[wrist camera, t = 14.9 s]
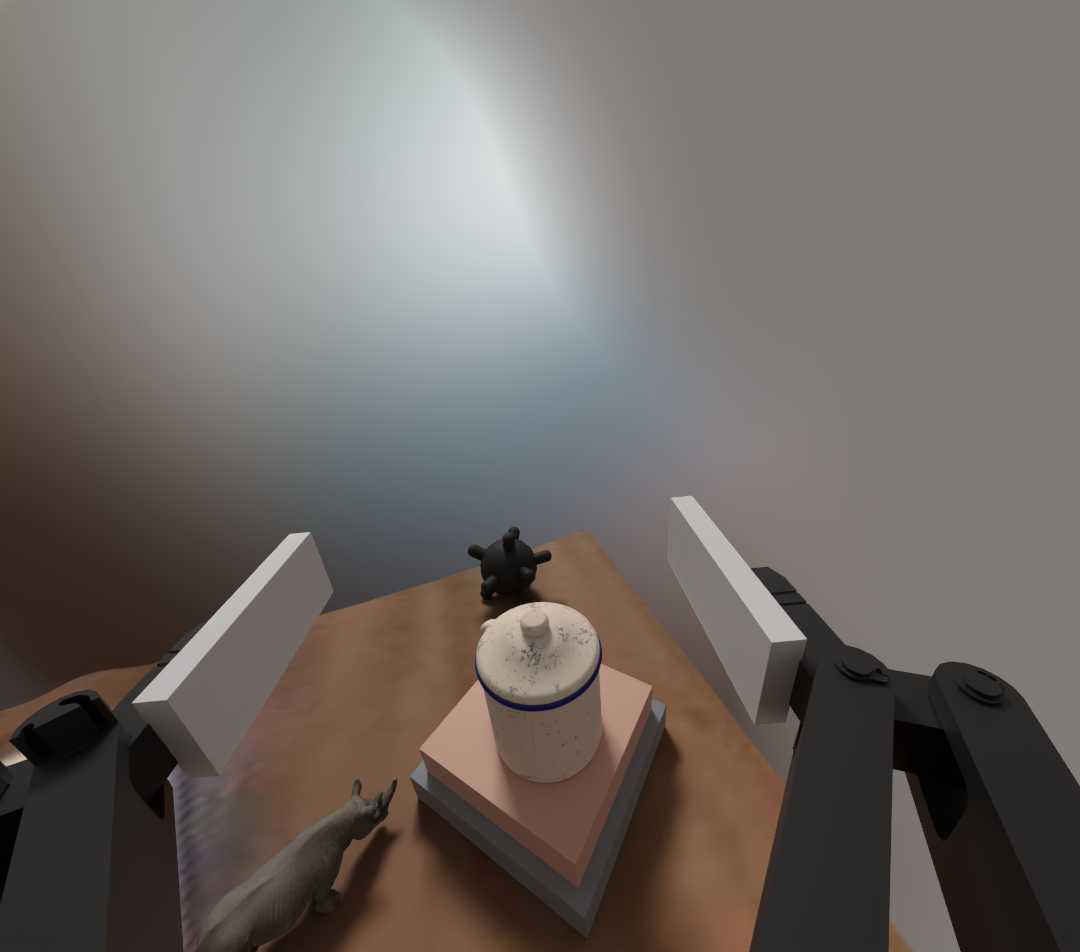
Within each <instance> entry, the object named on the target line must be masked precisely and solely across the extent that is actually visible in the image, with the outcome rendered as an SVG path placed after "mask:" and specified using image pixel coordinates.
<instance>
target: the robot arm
mask: <svg viewBox="0 0 1080 952" xmlns="http://www.w3.org/2000/svg"><path fill="white" fill-rule="evenodd" d="M667 558H668V559H667V560H668V562H669V564H670V566H671V568H672V569H673V571H674V573H675V575H676V577H677V579H678V581H679V583H680V585H681V587H682V588H683V590H684V592H685V594H686V596H687V598H688V600H689V602H690V604H691V606H692V607H693V609H694V611H695V613H696V615H697V617H698V619H699V621H700V622H701V624H702V626H703V628H704V630H705V632H706V634H707V636H708V638H709V640H710V642H711V643H712V645H713V647H714V649H715V651H716V653H717V655H718V657H719V659H720V660H721V662H722V664H723V666H724V668H725V670H726V672H727V674H728V676H729V678H730V679H731V681H732V683H733V685H734V687H735V689H736V691H737V693H738V695H739V697H740V698H741V700H742V702H743V704H744V706H745V708H746V710H747V712H748V714H749V716H750V717H751V719H752V721H753V723H754V725H759V724H769V723H779V722H786V719H787V715H788V711H789V707H790V706H791V708H792V709H793V711H794V713H795V714H796V716H797V717H798V719H799V720H800V725H799V729H798V732H797V736H796V740H795V743H794V747H793V750H794V751H793V756H792V760H791V765H790V769H789V774H788V779H787V783H786V787H785V792H784V796H783V801H782V806H781V810H780V815H779V819H778V824H777V828H776V833H775V837H774V842H773V846H772V851H771V855H770V860H769V864H768V869H767V874H766V878H765V883H764V887H763V892H762V896H761V901H760V905H759V910H758V914H757V919H756V923H755V928H754V932H753V937H752V941H751V946H750V951H749V952H888V949H889V905H890V904H889V903H890V902H889V901H890V859H891V857H890V856H891V816H892V771H893V769H896V770H900V771H904V772H905V773H906V777H907V780H908V783H909V786H910V790H911V793H912V796H913V799H914V802H915V806H916V809H917V812H918V816H919V819H920V822H921V825H922V828H923V831H924V835H925V838H926V841H927V844H928V848H929V851H930V854H931V857H932V860H933V864H934V867H935V870H936V873H937V877H938V880H939V883H940V886H941V890H942V893H943V896H944V899H945V903H946V906H947V909H948V912H949V916H950V919H951V922H952V925H953V928H954V932H955V934H956V938H957V941H958V944H959V948H960V951H961V952H1080V786H1079V784H1078V783H1077V781H1076V779H1075V778H1074V776H1073V775H1072V773H1071V772H1070V770H1069V768H1068V767H1067V765H1066V764H1065V762H1064V761H1063V759H1062V757H1061V756H1060V754H1059V753H1058V751H1057V750H1056V748H1055V746H1054V745H1053V743H1052V742H1051V740H1050V739H1049V737H1048V735H1047V734H1046V732H1045V731H1044V729H1043V728H1042V726H1041V724H1040V723H1039V722H1038V720H1037V718H1036V717H1035V715H1034V714H1033V712H1032V711H1031V709H1030V707H1029V706H1028V704H1027V703H1026V701H1025V700H1024V698H1023V697H1022V696H1021V695H1020V694H1019V693H1018V692H1017V691H1016V689H1015V688H1014V687H1012V686H1011V685H1010V684H1008V683H1007V682H1005V681H1004V680H1002V679H1001V678H1000V677H998V676H996V675H994V674H992V673H990V672H988V671H986V670H984V669H982V668H979V667H976V666H973V665H969V664H966V663H959V662H947V663H942V664H940V665H939V666H938V667H937V668H936V670H935V672H934V674H933V676H932V677H930V676H925V675H918V674H913V673H907V672H901V671H895V670H891V669H887V667H886V666H885V665H884V664H883V663H882V662H881V661H879V660H878V659H877V658H875V657H874V656H872V655H871V654H869V653H867V652H865V651H863V650H860V649H858V648H855V647H851V646H846V645H845V644H844V643H843V642H842V641H841V640H840V639H839V638H838V636H837V635H836V634H835V633H834V632H833V631H832V630H831V629H830V628H829V626H828V625H827V624H826V623H825V622H824V621H823V620H822V618H821V617H820V616H819V615H818V614H817V613H816V612H815V611H814V610H813V608H812V607H811V606H810V605H809V604H806V601H805V600H804V598H803V597H802V596H801V595H800V594H799V593H797V592H796V589H794V587H793V586H792V585H791V584H790V583H789V582H788V581H787V580H786V578H785V577H783V576H781V575H780V574H778V573H777V572H775V571H773V570H772V569H770V568H768V567H761V568H749V566H748V565H747V564H746V563H745V562H744V560H743V559H742V558H741V556H740V555H739V554H738V553H737V551H736V550H735V549H734V548H733V546H732V545H731V544H730V543H729V542H728V540H727V539H726V538H725V536H724V535H723V534H722V533H721V531H720V530H719V529H718V528H717V526H716V525H715V524H714V523H713V522H712V520H711V519H710V518H709V517H708V515H707V514H706V513H705V512H704V510H703V509H702V508H701V507H700V505H699V504H698V503H697V502H696V500H695V499H694V498H693V497H692V496H684V497H675V498H671V504H670V521H669V541H668V557H667ZM332 593H333V589H332V587H331V584H330V581H329V579H328V576H327V574H326V571H325V568H324V566H323V563H322V561H321V558H320V555H319V553H318V550H317V548H316V545H315V542H314V540H313V537H312V535H311V532H307V533H297V534H289V535H288V537H287V538H286V539H285V540H284V541H283V542H282V543H281V544H280V545H279V546H278V547H277V548H276V549H275V550H274V551H273V553H272V554H271V555H270V556H269V557H268V558H267V559H266V560H265V561H264V562H263V563H262V564H261V565H260V566H259V567H258V569H257V570H256V571H255V572H254V573H253V574H252V575H251V576H250V577H249V578H248V579H247V580H246V581H245V582H244V584H243V585H242V586H241V587H240V588H239V589H238V590H237V591H236V592H235V593H234V594H233V595H232V596H231V598H229V600H228V601H227V602H226V603H225V604H224V605H223V606H222V607H221V608H220V609H219V610H218V611H217V612H216V613H215V615H214V616H213V617H212V618H211V619H210V620H209V621H205V622H203V623H201V624H200V625H199V626H197V627H196V628H194V629H193V630H192V631H190V632H189V633H188V634H186V635H185V636H183V638H182V639H181V640H180V641H179V642H178V643H177V644H176V645H175V646H174V647H173V648H172V649H171V650H170V652H169V654H166V655H165V656H164V657H163V658H162V659H161V660H160V661H159V662H158V663H157V667H154V668H153V669H152V670H151V671H150V672H149V673H148V674H147V675H146V676H145V677H144V678H143V679H142V680H141V681H140V682H139V683H138V684H137V685H136V686H135V687H134V688H133V689H132V690H131V691H130V692H129V693H128V695H127V696H126V697H125V698H124V699H123V700H122V701H121V702H120V703H119V704H118V705H117V706H116V707H115V708H114V709H113V710H111V709H110V707H109V706H108V705H107V704H106V702H105V701H104V700H103V699H102V698H101V696H100V695H99V694H98V693H97V691H92V690H84V691H78V692H74V693H72V694H69V695H67V696H64V697H61V698H59V699H57V700H56V701H54V702H52V703H50V704H48V705H46V706H45V707H43V708H42V709H40V710H39V711H37V712H36V713H35V714H33V715H32V716H30V717H29V718H28V719H27V720H25V721H24V722H23V723H22V724H21V725H20V726H19V727H18V728H17V729H16V730H15V732H14V733H13V735H12V737H11V738H10V740H9V741H10V742H11V743H12V744H13V745H14V746H15V747H16V748H17V749H18V750H19V751H20V752H21V753H22V754H23V755H24V756H25V757H26V758H27V760H24V761H21V762H18V763H16V764H13V765H10V766H7V767H6V766H5V765H4V764H3V763H2V762H1V761H0V952H183V937H182V922H181V907H180V891H179V876H178V861H177V846H176V831H175V815H174V800H173V788H172V786H171V784H170V782H169V781H168V780H167V778H168V776H169V775H170V773H171V772H172V771H173V769H174V768H175V767H176V765H177V764H178V765H179V766H180V767H181V769H182V770H183V771H184V773H185V774H186V775H187V777H188V778H198V777H208V776H219V775H221V773H222V771H223V770H224V768H225V767H226V765H227V763H228V762H229V760H230V758H231V757H232V755H233V754H234V752H235V750H236V749H237V747H238V745H239V744H240V742H241V741H242V739H243V737H244V736H245V734H246V732H247V731H248V729H249V728H250V726H251V724H252V723H253V721H254V720H255V718H256V716H257V715H258V713H259V711H260V710H261V708H262V707H263V705H264V703H265V702H266V700H267V698H268V697H269V695H270V694H271V692H272V690H273V689H274V687H275V685H276V684H277V682H278V681H279V679H280V677H281V676H282V674H283V673H284V671H285V669H286V668H287V666H288V664H289V663H290V661H291V660H292V658H293V656H294V655H295V653H296V651H297V650H298V648H299V647H300V645H301V643H302V642H303V640H304V638H305V637H306V635H307V634H308V632H309V630H310V629H311V627H312V626H313V624H314V622H315V621H316V619H317V617H318V616H319V614H320V613H321V611H322V609H323V608H324V606H325V604H326V603H327V601H328V600H329V598H330V596H331V594H332Z"/></svg>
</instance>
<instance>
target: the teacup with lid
mask: <svg viewBox="0 0 1080 952" xmlns="http://www.w3.org/2000/svg"><path fill="white" fill-rule="evenodd" d="M601 661H602V648H601V643H600V640H599V637H598V635H597V633H596V631H595V629H594V628H593V626H592V625H591V623H590V622H589V621H588V620H587V619H586V618H585V617H584V616H583V615H581V614H580V613H579V612H577V611H576V610H574V609H572V608H570V607H567V606H564V605H561V604H557V603H551V602H535V603H528V604H524V605H521V606H518V607H515V608H513V609H510V610H509V611H507V612H505V613H503V614H502V615H500V616H499V617H498V618H496V619H490V620H488V621H486V622H485V623H484V624H483V625H482V626H481V639H480V641H479V644H478V647H477V652H476V657H475V669H476V674H477V677H478V680H479V682H480V684H481V686H482V687H483V689H484V693H485V698H486V702H487V707H488V711H489V716H490V720H491V725H492V729H493V734H494V739H495V743H496V747H497V750H498V752H499V754H500V756H501V758H502V760H503V761H504V762H505V764H506V765H507V766H508V767H509V768H510V769H511V770H512V771H513V772H515V773H516V774H518V775H519V776H521V777H523V778H525V779H528V780H531V781H534V782H540V783H552V782H558V781H562V780H565V779H567V778H569V777H571V776H573V775H575V774H576V773H578V772H579V771H581V770H582V769H583V768H584V767H585V766H586V765H587V764H588V763H589V762H590V760H591V759H592V757H593V756H594V754H595V752H596V750H597V748H598V746H599V743H600V739H601V733H602V718H601V697H600V675H599V669H600V666H601Z"/></svg>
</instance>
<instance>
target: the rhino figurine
mask: <svg viewBox="0 0 1080 952" xmlns="http://www.w3.org/2000/svg"><path fill="white" fill-rule="evenodd" d="M396 785H397V779H396V778H395V779H394V780H393V782H392V785H391V786H390V788H389V789H388V790H387V791H386V792H385V793H384V794H383V792H382V791H381V792H380V793H379V794H378V795H377V796H376V797H374V798H373V799H363V798H362V797H361V796H360V791H361V787H362V786H361V783H360V780H359V779H356V780H355V782H354V785H353V790H352V797H351V799H350V801H349V802H348V803H347V804H345V805H343V806H342V807H341V808H340V809H338V810H336V811H335V812H333V813H331V814H330V815H328V816H326V817H324V818H323V819H321V820H319V821H318V822H315V823H314V824H312V825H311V826H309V827H307V828H306V829H305V830H304V831H302V832H301V833H300V834H299V835H298V836H297V837H296V838H295V839H294V841H293V842H292V843H290V844H289V845H288V846H287V847H286V848H285V849H283V850H282V851H280V852H279V853H278V854H277V855H275V856H274V857H272V858H271V859H270V860H269V861H268V862H267V863H265V864H264V865H263V866H262V867H261V868H260V869H259V870H258V871H256V872H255V873H254V874H253V875H252V876H251V877H250V878H249V879H248V880H247V881H245V882H244V883H242V884H241V885H239V886H238V887H236V888H234V889H233V890H231V891H230V892H229V893H227V894H226V895H225V896H224V897H223V898H222V899H221V900H220V901H219V902H218V903H217V904H216V906H215V907H214V908H213V909H212V911H211V912H210V913H209V915H208V916H207V918H206V919H205V921H204V922H203V924H202V926H201V928H200V931H199V935H198V939H197V948H196V951H195V952H252V949H253V948H254V947H255V946H260V945H263V944H265V943H267V942H269V941H271V940H273V939H275V938H277V937H279V936H280V935H282V934H284V933H285V932H286V931H287V930H289V929H290V928H291V927H292V926H293V925H294V924H295V923H296V921H297V920H298V919H299V917H300V916H301V914H302V913H303V911H304V909H305V907H306V905H307V903H308V902H309V901H310V900H311V899H312V898H313V900H314V901H315V902H316V903H315V911H316V912H318V913H326V914H329V913H331V912H332V911H333V909H334V908H335V904H336V903H337V902H338V900H339V898H340V892H339V891H336V890H335V889H330V888H331V887H332V885H333V883H334V880H335V879H336V877H337V875H338V872H339V868H340V865H341V861H342V857H343V852H344V851H345V849H346V848H347V847H348V846H349V845H350V843H351V841H352V839H356V840H361V839H363V838H365V837H366V836H367V835H368V834H369V833H370V832H371V831H372V830H373V829H374V828H375V827H376V826H377V825H378V824H379V823H380V822H381V821H383V820H384V819H385V818H386V816H387V815H388V806H389V803H390V801H391V799H392V797H393V794H394V792H395V789H396Z"/></svg>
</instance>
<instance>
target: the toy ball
mask: <svg viewBox="0 0 1080 952" xmlns="http://www.w3.org/2000/svg"><path fill="white" fill-rule="evenodd" d="M519 533H520V531H519V529H518V528H517V527H511V528H510V529H509V531H508V533H506V534H505V535H504V536H503V539H501V540H497V541H496V542H494V543H493V544H491V545H490V546H489V547H488V548H487V550H486V549H484V548H482V547H479V546H477V545H474V544H473V545H471V546H470V547H469V548H468V554H469V555H470V556H471V557H473V558H476V559H478V560H480V561H481V565H480V566H481V575H482V578H483V579H484V582H483V583H482V584H481V593H480V594H481V596H482V597H483V598H484V599H489V598H490V597H491V596H492V595H493V593H494V592H496V593H498V594H501V595H515V594H517V596H518V598H519V600H520V602H521V604H522V605H524V604H528V603H533V601H532V598H531V596H530V594H529V592H528V590H527V588H528V587H529V586H530V585H531V583H532V582H533V581H534V580H535V575H536V571H537V564H541V563H544V562H548V561H550V560H551V553H550V552H549V551H548V550H544V551H541V552H537V553H533V551H532V549H531V548H530V547H529V546H528V545H526V544H525V543H524V542H523V541H521V540H518V539H519Z"/></svg>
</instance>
